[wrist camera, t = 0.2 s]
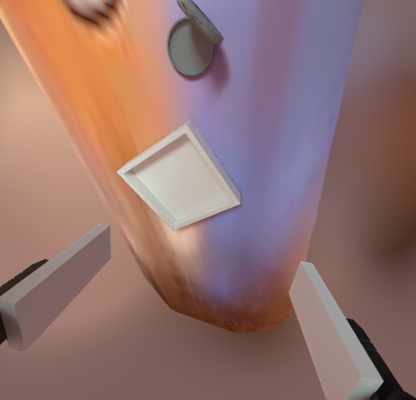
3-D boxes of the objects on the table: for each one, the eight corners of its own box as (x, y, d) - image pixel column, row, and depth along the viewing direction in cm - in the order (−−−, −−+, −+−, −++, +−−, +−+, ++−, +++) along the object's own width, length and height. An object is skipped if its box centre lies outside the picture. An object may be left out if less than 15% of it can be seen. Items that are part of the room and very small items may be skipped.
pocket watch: (169, 71, 32) (142, 79, 24) (169, -5, 26) (134, -27, 18) (220, 79, 31) (210, 90, 23) (231, 4, 26) (222, -15, 18)
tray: (191, 118, 35) (186, 124, 32) (241, 194, 43) (240, 204, 40) (125, 164, 43) (116, 171, 40) (177, 220, 51) (172, 230, 48)
